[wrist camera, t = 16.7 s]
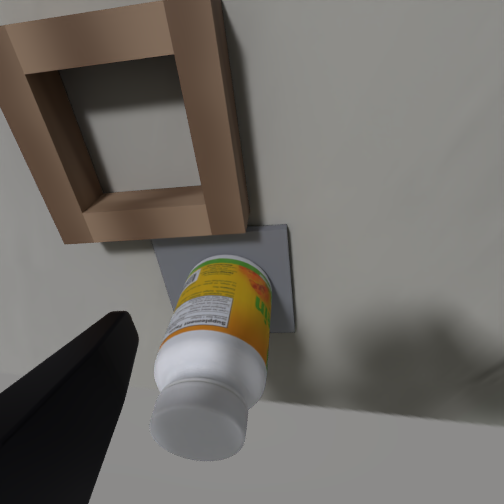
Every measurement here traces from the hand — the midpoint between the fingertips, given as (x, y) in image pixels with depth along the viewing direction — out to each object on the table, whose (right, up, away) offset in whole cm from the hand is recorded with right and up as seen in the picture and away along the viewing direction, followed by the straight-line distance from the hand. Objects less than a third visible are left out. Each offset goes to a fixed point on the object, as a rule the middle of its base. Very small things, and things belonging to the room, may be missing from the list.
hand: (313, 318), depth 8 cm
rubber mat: (-3, 0, +15) cm, 15 cm away
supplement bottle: (-3, -1, +15) cm, 15 cm away
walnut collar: (-7, +8, +10) cm, 15 cm away
